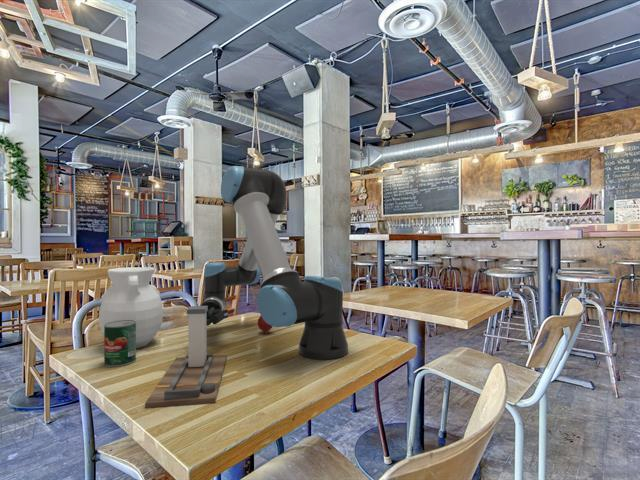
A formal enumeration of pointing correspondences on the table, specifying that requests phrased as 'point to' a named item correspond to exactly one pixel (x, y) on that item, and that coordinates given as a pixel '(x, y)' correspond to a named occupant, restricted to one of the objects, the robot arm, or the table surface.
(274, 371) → the table surface
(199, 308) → the grey rectangular block
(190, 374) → the brown board with rails
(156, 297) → the pitcher
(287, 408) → the table surface
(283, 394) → the table surface
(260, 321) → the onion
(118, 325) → the canned tomato
